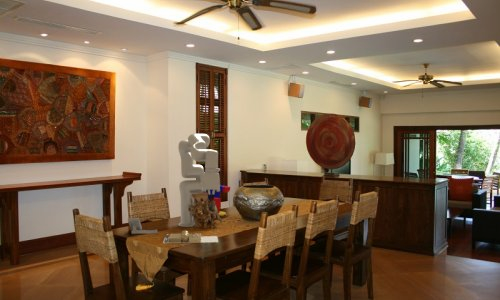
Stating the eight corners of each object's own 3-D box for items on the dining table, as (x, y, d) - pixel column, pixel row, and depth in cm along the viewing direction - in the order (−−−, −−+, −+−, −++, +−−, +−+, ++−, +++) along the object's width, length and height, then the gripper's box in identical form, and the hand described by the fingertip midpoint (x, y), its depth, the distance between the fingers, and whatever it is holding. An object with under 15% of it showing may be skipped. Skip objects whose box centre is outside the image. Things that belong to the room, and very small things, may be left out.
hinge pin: (165, 237, 257) (165, 234, 257) (168, 237, 257) (168, 234, 257) (163, 242, 245) (164, 239, 244) (167, 242, 245) (167, 239, 245)
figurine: (218, 211, 354) (218, 175, 353) (232, 215, 336) (232, 177, 336) (195, 213, 341) (195, 176, 340) (208, 217, 324) (209, 179, 323)
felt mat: (164, 237, 258) (164, 237, 258) (217, 236, 262) (217, 236, 262) (162, 244, 243) (162, 243, 243) (218, 242, 247) (218, 242, 247)
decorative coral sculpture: (225, 209, 315) (231, 208, 286) (210, 237, 310) (215, 239, 281) (195, 192, 313) (199, 190, 284) (180, 220, 307) (181, 220, 278)
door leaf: (182, 237, 257) (182, 230, 257) (200, 237, 259) (200, 230, 259) (181, 242, 245) (181, 234, 245) (201, 242, 247) (201, 234, 247)
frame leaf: (169, 237, 257) (170, 230, 257) (188, 237, 258) (188, 230, 258) (168, 242, 245) (168, 235, 245) (188, 242, 246) (188, 234, 246)
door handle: (130, 240, 276) (127, 230, 258) (131, 228, 280) (127, 218, 262) (158, 238, 279) (156, 229, 261) (158, 227, 282) (156, 217, 265)
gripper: (223, 170, 258) (223, 199, 259) (199, 170, 257) (198, 200, 257) (224, 171, 251) (223, 201, 252) (199, 171, 249) (198, 202, 250)
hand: (211, 200), depth 254 cm, fingers closed
